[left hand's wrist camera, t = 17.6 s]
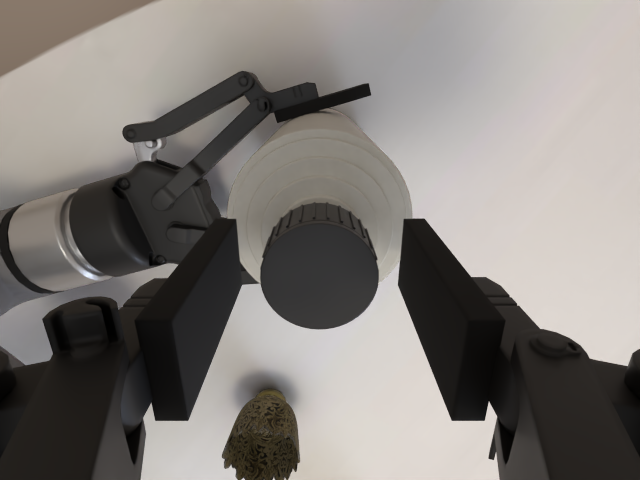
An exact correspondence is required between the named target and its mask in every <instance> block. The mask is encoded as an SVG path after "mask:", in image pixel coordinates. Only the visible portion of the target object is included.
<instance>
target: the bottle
mask: <svg viewBox="0 0 640 480" xmlns="http://www.w3.org/2000/svg"><path fill="white" fill-rule="evenodd" d="M313 202H316V203H326V202H328V203H329V204H333V205H336V206H339V205H340V206H341V207H342V208H344V209H346V210H348V211H351V212H352V214H353V215H354V216H355V217H357V218H358V219H360V220H361V222H362V225H363V226H364V228H365V229H366V228H367V230H368V233H369V236H370V239H371V241H372V244H373V247H374V250H375V253H376V256H377V259H378V260H377V265H378V269H379V282H378V284H380V283H381V282H382V281H383V280H384V279H385V278H386V277H387V276H388V275H389V274H390V273H391V272H392V271H393V270H394V268H395V267H396V265H397V264H398V262H399V261H400V256H401V244H402V232H403V220H404V219H412V204H411V199H410V195H409V191H408V189H407V186H406V183H405V181H404V179H403V177H402V175H401V173H400V172H399V170H398V169H397V167H396V166H395V165H394V163H393V162H392V161H391V160H390V159H389V158H388V157H387V156H386V155H385V154H384V153H383V152H382V150H381V149H380V148H379V147H378V146H377V145H376V144H375V143H374V142H373V141H372V140H371V139H370V138H369V137H368V136H367V135H366V134H365V133H364V132H363V131H362V130H361V129H360V128H359V127H358V126H357V125H356V124H355V123H354V122H353V121H352V120H351V119H350V118H348V117H347V116H346V115H344V114H342V113H341V112H338V111H336V110H333V109H329V108H326V109H323V110H320V111H316V112H313V113H309V114H306V115H303V116H299V117H296V118H293V119H289V120H288V121H287V122H286V123H285V124H284V125H283V126H282V127H281V128H280V129H279V130H278V131H277V132H276V133H275V134H274V135H273V136H272V137H271V138H270V139H269V140H268V141H267V142H266V143H265V144H264V145H263V146H262V147H261V148H260V149H259V150H258V151H257V152H256V153H255V154H254V155H253V156H252V157H251V158H250V159H249V160H248V161H247V162H246V164H245V165H244V166H243V168H242V169H241V171H240V172H239V174H238V175H237V177H236V180H235V182H234V184H233V186H232V189H231V192H230V196H229V200H228V207H227V219H236V220H237V232H238V244H239V256H240V262H241V264H242V265H243V266H244V268H245V269H246V270H247V272H248V273H249V274H250V275H251V276H252V277H253V278H254V279H255V280H256V281H257V282H259V283H260V284H261V281H260V267H261V264H262V261H263V258H262V255H263V252H264V249H265V246H266V244H267V241H268V238H269V237H270V235H271V232H272V229H273V227H274V226H276V225H277V223H278V222H279V220H280V218H281V217H282V218H283V217H284V216H285V215H286V214H287V213H288V212H289V211H290V210H291V209H292V210H293V209H295V208H298V207H300V206H301V205H302V204H303V205H306V204H311V203H313Z"/></svg>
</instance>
